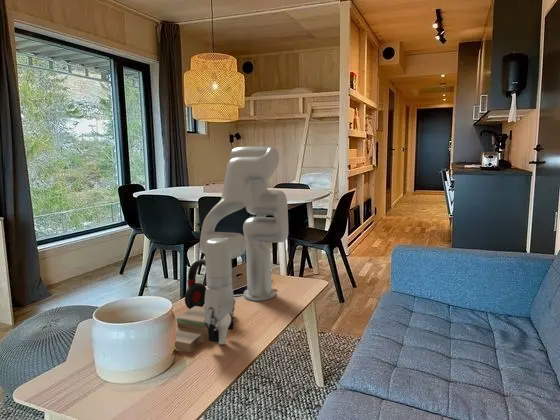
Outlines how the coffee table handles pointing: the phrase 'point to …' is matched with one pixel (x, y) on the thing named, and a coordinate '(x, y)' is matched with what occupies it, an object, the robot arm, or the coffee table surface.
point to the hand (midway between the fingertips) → (221, 334)
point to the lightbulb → (223, 328)
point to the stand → (191, 329)
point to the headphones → (195, 287)
